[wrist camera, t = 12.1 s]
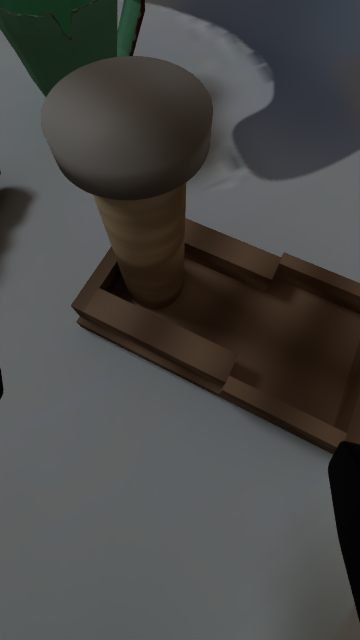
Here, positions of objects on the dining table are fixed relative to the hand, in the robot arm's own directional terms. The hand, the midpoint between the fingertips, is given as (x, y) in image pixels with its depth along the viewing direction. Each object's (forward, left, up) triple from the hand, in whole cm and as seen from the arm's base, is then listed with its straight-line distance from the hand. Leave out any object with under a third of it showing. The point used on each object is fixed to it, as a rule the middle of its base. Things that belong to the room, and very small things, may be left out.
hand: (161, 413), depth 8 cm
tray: (+9, 0, -14) cm, 16 cm away
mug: (+26, +22, -14) cm, 36 cm away
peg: (+9, +6, -13) cm, 16 cm away
